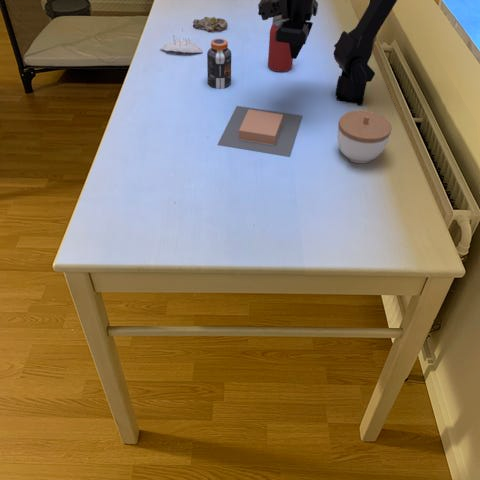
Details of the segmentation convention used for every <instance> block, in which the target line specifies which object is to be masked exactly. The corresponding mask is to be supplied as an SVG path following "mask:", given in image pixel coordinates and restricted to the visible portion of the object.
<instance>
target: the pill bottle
mask: <svg viewBox="0 0 480 480" xmlns="http://www.w3.org/2000/svg"><path fill="white" fill-rule="evenodd" d="M206 55H207V56H206V58H207V63H206V64H207V65H206V66H207V71H206V72H207V85H208V87H210V88H212V89H217V90H222V89H226V88H229V87H230V86H231V84H232V50H230V49H229V48H228V41H227V40H226V39H224V38H213V39H212V40H211V41H210V48H209V49H207V53H206Z"/></svg>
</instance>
